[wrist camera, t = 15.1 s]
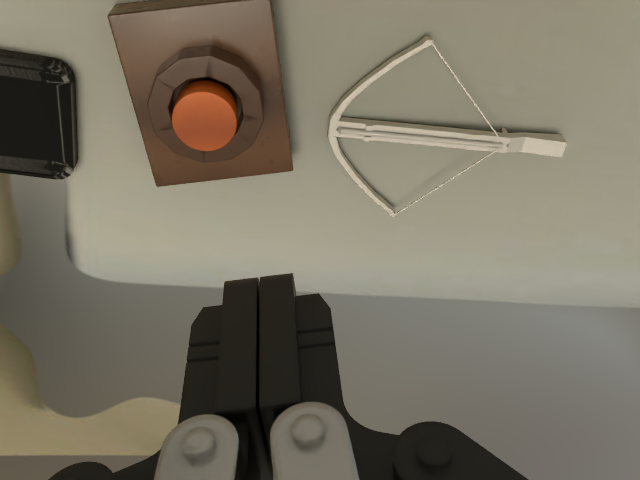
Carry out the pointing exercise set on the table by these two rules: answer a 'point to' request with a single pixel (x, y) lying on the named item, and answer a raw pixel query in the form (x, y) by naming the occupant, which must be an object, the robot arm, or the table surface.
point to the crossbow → (427, 131)
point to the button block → (212, 65)
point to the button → (205, 115)
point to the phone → (37, 116)
